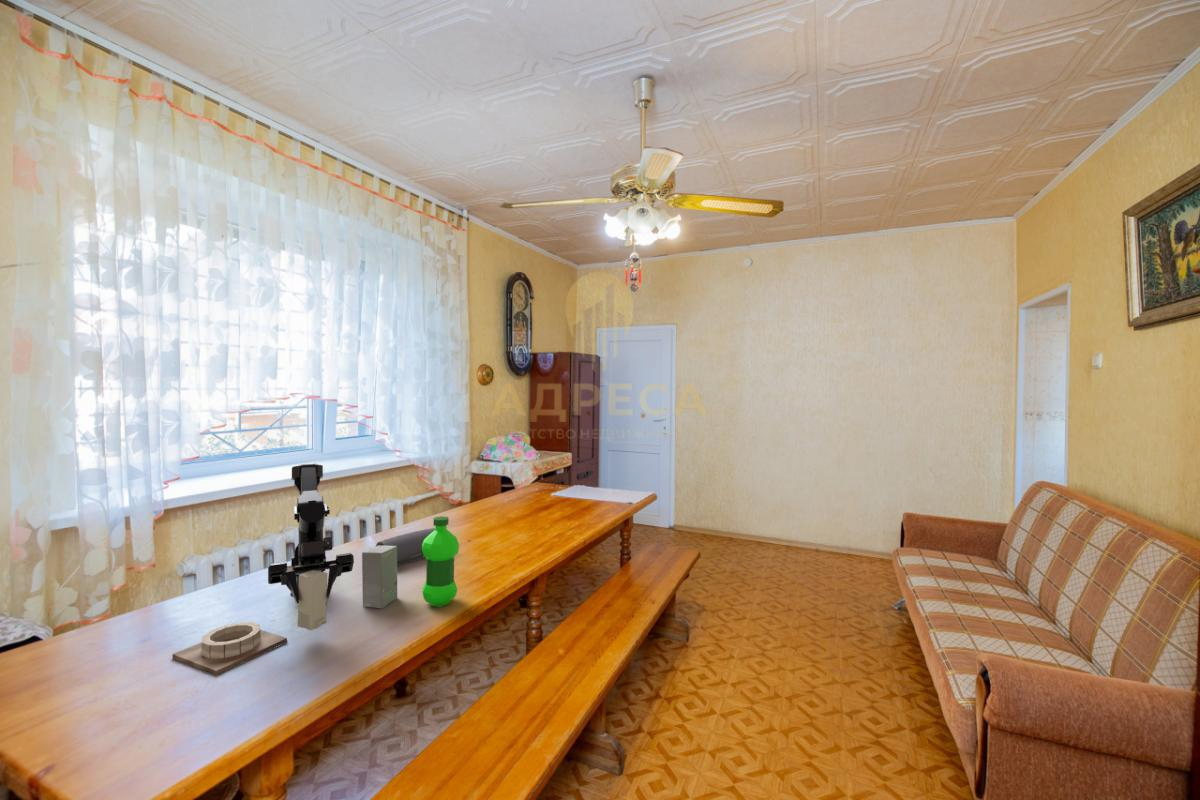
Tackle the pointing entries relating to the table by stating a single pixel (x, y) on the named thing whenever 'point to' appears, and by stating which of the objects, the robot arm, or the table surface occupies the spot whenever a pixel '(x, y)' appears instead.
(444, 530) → the plastic bottle
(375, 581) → the skincare box
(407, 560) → the bluetooth speaker
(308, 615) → the box
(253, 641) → the ring socket
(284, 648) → the table surface
